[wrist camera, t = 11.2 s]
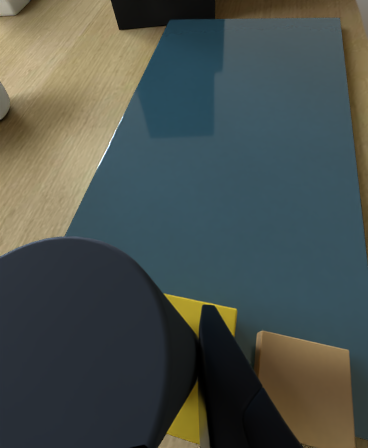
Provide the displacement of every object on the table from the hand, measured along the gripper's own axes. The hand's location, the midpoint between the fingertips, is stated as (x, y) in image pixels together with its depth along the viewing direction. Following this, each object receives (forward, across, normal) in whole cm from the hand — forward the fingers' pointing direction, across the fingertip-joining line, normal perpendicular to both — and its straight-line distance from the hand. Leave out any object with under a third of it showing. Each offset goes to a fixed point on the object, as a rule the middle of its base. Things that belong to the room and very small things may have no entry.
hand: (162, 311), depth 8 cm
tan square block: (+3, -6, +6) cm, 9 cm away
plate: (+17, -2, -6) cm, 18 cm away
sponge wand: (+4, 0, +6) cm, 7 cm away
